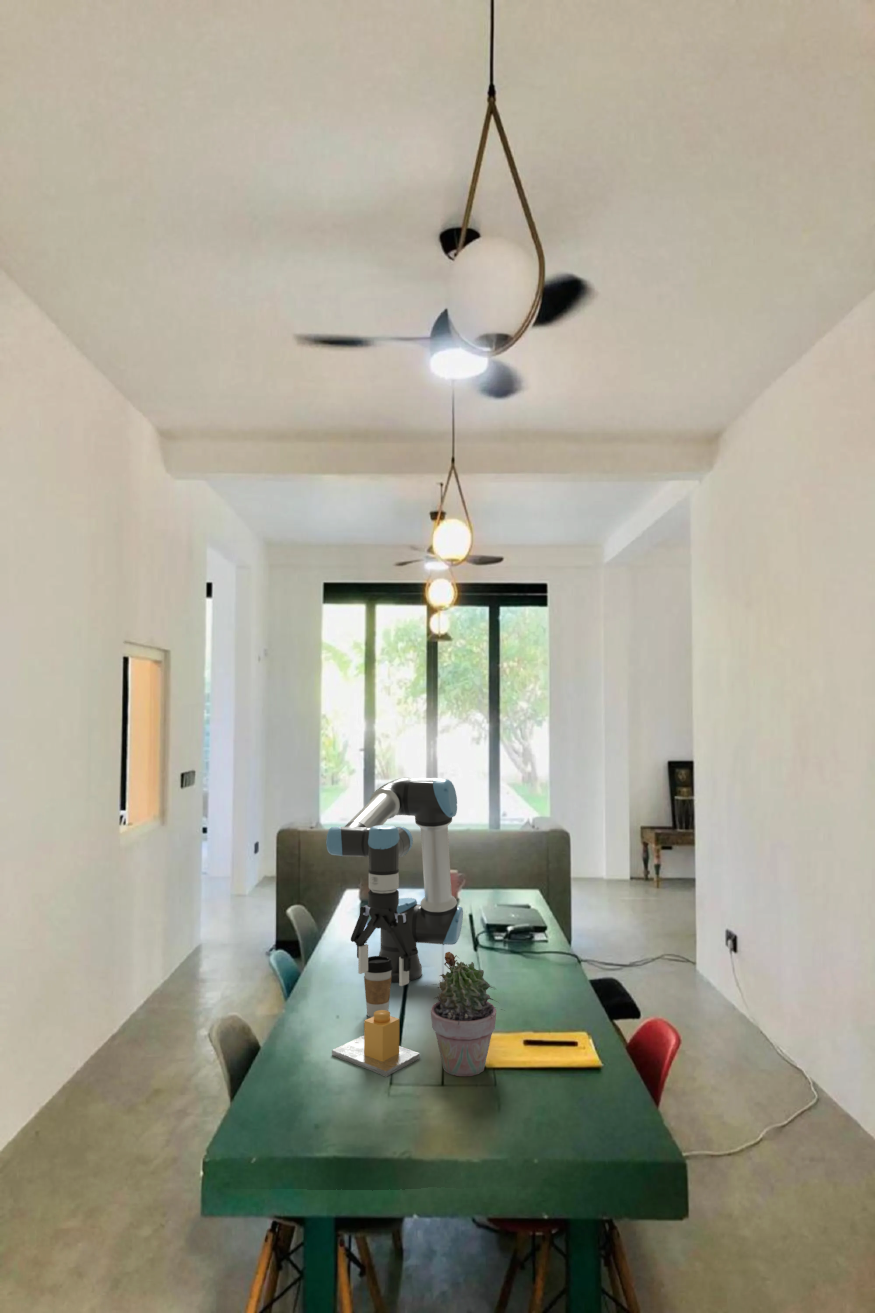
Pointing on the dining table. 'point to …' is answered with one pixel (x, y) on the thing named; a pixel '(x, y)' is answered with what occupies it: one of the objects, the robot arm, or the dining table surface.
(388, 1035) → the orange knobbed block
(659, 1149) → the dining table surface
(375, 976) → the coffee cup
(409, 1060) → the plate
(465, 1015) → the potted plant
